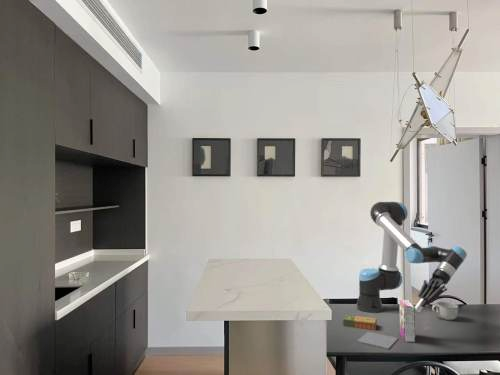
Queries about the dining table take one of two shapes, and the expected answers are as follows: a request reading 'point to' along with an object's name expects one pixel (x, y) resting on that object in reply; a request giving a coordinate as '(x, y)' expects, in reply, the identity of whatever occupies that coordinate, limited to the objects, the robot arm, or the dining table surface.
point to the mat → (378, 340)
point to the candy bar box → (407, 320)
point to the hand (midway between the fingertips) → (416, 310)
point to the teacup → (446, 310)
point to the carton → (360, 322)
